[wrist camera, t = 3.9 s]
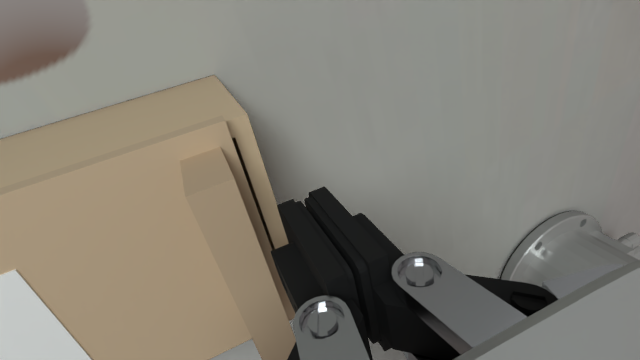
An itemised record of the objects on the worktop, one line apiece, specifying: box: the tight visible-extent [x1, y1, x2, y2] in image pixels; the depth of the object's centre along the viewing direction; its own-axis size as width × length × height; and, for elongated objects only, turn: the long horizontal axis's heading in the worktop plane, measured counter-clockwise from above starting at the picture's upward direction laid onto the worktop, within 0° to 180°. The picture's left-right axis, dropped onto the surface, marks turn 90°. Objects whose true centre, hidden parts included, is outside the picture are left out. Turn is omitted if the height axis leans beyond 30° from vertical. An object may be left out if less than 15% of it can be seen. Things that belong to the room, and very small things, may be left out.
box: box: [0, 75, 289, 250], centre depth 15 cm, size 16×8×8 cm, turn 104°
